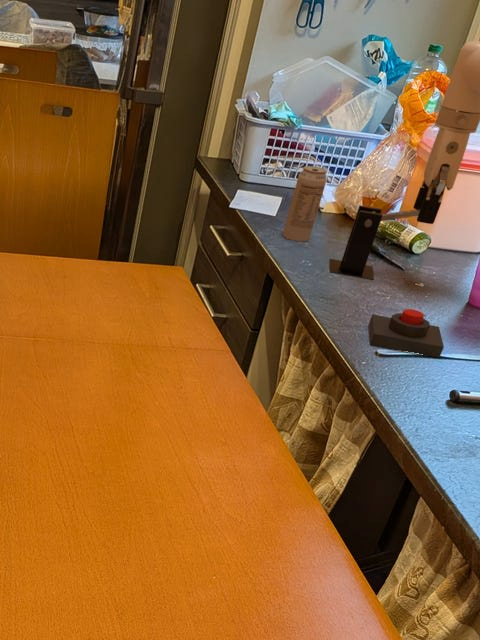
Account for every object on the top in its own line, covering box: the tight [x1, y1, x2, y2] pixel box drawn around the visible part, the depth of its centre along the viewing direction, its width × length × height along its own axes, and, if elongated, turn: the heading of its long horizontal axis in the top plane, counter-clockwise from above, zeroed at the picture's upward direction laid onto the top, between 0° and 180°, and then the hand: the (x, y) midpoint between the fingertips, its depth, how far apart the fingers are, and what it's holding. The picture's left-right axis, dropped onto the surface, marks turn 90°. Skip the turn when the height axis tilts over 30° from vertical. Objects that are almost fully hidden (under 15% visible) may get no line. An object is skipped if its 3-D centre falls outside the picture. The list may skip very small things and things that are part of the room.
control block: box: [367, 312, 445, 359], centre depth 167 cm, size 12×10×4 cm
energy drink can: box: [282, 165, 328, 243], centre depth 204 cm, size 6×6×15 cm
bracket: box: [328, 204, 383, 281], centre depth 191 cm, size 9×9×13 cm
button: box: [400, 308, 425, 325], centre depth 165 cm, size 4×4×2 cm
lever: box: [371, 209, 420, 222], centre depth 186 cm, size 13×5×2 cm, turn 74°
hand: (422, 216), depth 185 cm, fingers open, 9 cm apart
